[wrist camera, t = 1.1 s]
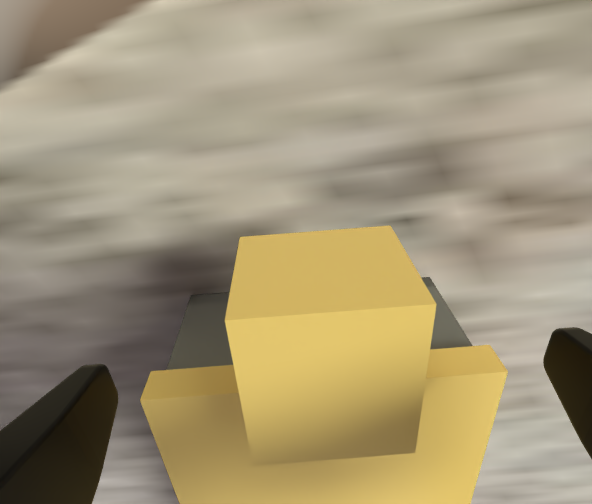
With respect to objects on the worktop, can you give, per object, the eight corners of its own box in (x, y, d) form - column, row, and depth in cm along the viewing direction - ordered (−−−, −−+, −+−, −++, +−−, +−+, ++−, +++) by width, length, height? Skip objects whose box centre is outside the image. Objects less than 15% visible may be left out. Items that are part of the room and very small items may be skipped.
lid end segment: (452, 499, 15) (489, 599, 12) (201, 519, 15) (185, 623, 12) (520, 215, 9) (620, 290, 6) (108, 246, 9) (38, 334, 6)
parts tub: (408, 488, 22) (441, 603, 17) (235, 502, 21) (224, 621, 17) (437, 276, 15) (505, 380, 10) (182, 296, 15) (142, 408, 10)
